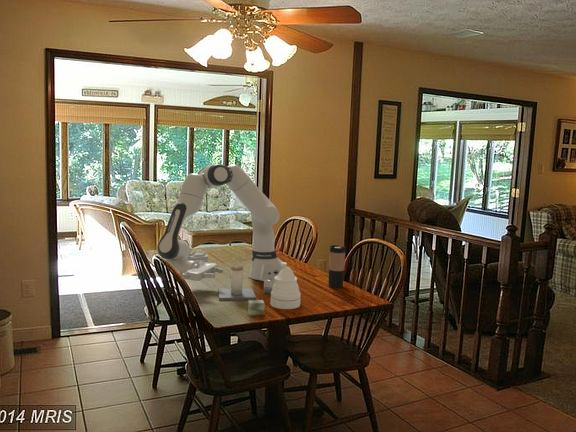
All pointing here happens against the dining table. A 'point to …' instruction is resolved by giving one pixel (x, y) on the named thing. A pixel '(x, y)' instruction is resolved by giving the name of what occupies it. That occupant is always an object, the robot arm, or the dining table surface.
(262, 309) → the sage block
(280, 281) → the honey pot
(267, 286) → the metal tin
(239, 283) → the white lidded jar
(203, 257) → the lumpy-topped squat cylinder
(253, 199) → the robot arm
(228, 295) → the serving board
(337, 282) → the travel mug
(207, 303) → the dining table surface
